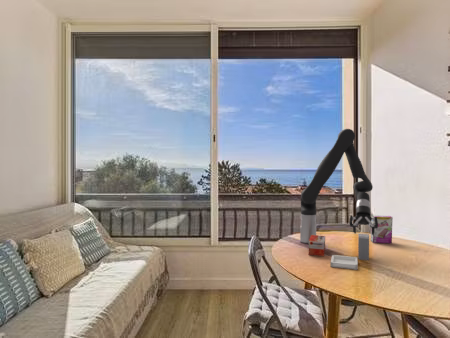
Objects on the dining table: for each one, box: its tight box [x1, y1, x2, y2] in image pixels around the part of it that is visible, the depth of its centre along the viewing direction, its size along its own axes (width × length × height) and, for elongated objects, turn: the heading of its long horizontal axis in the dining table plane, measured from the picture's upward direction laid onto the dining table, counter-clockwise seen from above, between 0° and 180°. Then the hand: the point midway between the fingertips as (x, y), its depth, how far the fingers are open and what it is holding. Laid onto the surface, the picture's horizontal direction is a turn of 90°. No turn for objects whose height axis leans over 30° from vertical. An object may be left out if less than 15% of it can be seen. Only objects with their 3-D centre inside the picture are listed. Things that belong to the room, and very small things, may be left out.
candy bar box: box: [370, 214, 393, 244], centre depth 202 cm, size 11×5×16 cm, turn 84°
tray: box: [330, 254, 359, 270], centre depth 161 cm, size 12×13×2 cm
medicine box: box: [308, 234, 326, 257], centre depth 182 cm, size 15×8×8 cm, turn 161°
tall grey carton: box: [357, 233, 370, 261], centre depth 171 cm, size 5×6×12 cm
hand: (363, 233), depth 176 cm, fingers open, 8 cm apart
